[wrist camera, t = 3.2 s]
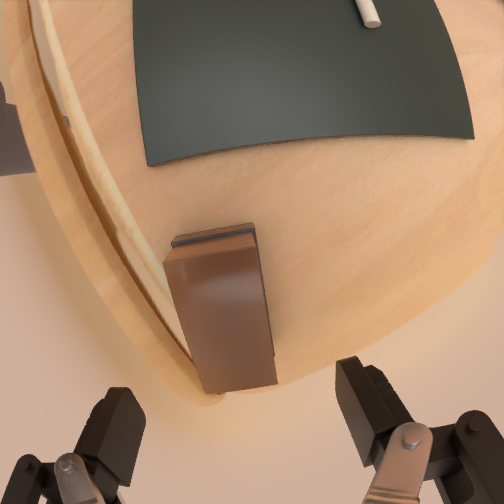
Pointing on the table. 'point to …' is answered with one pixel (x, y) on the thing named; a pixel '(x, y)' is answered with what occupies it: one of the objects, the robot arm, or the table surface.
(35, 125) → the table surface
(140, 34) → the slate board
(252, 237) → the eraser
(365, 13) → the chalk
